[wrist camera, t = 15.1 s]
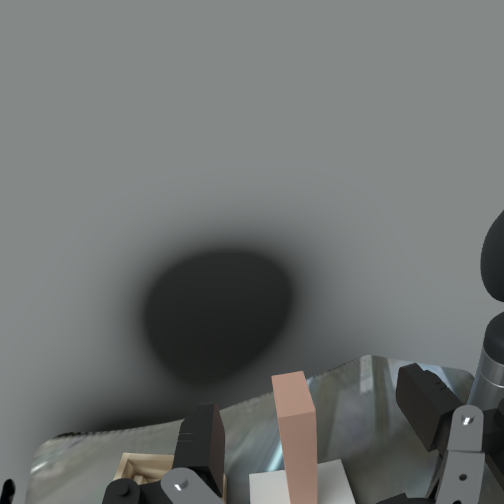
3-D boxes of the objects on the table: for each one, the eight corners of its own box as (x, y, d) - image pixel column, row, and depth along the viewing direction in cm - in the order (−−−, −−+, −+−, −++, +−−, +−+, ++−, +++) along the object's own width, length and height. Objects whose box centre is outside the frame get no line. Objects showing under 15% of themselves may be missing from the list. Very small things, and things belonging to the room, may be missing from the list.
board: (287, 484, 32) (271, 376, 27) (309, 480, 32) (302, 370, 27) (292, 518, 26) (278, 417, 21) (317, 514, 26) (315, 411, 21)
